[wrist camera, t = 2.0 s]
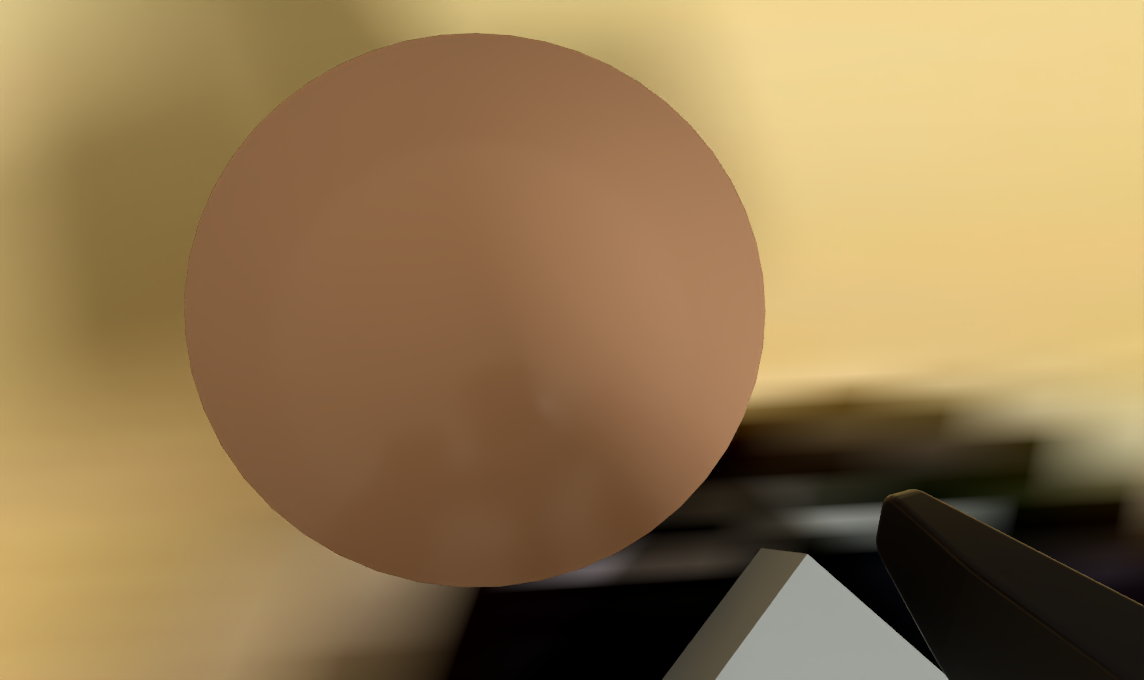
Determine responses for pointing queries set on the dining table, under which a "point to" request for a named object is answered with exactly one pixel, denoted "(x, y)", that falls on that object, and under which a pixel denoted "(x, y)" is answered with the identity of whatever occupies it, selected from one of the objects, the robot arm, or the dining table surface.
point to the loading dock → (796, 631)
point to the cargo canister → (474, 310)
